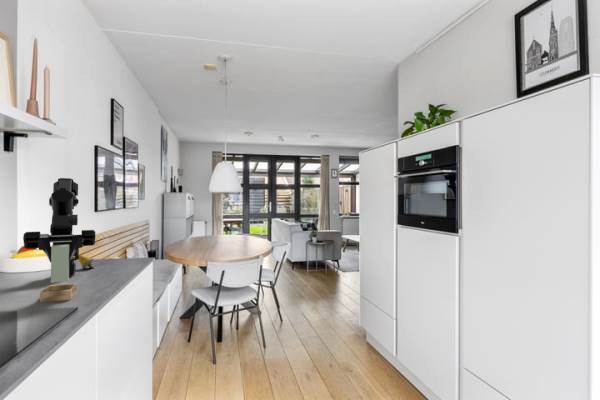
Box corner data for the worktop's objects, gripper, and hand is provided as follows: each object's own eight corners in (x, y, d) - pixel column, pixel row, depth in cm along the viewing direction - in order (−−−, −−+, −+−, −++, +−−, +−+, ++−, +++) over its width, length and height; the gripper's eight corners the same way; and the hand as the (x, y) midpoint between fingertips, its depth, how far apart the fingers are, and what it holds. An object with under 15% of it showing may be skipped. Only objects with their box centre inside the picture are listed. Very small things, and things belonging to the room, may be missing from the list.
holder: (40, 302, 96) (40, 292, 96) (48, 294, 104) (48, 285, 104) (71, 299, 100) (71, 290, 100) (77, 292, 107) (77, 283, 107)
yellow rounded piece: (89, 271, 137) (70, 255, 136) (88, 274, 141) (69, 259, 139) (100, 262, 141) (81, 247, 139) (98, 265, 145) (80, 250, 143)
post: (50, 282, 99) (51, 247, 98) (51, 279, 102) (52, 245, 102) (68, 280, 101) (69, 246, 101) (68, 277, 105) (69, 244, 105)
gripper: (24, 206, 99) (18, 246, 90) (95, 206, 110) (96, 242, 101) (27, 228, 106) (21, 268, 97) (94, 227, 116) (95, 263, 108)
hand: (60, 260), depth 100 cm, fingers closed on post, 4 cm apart
